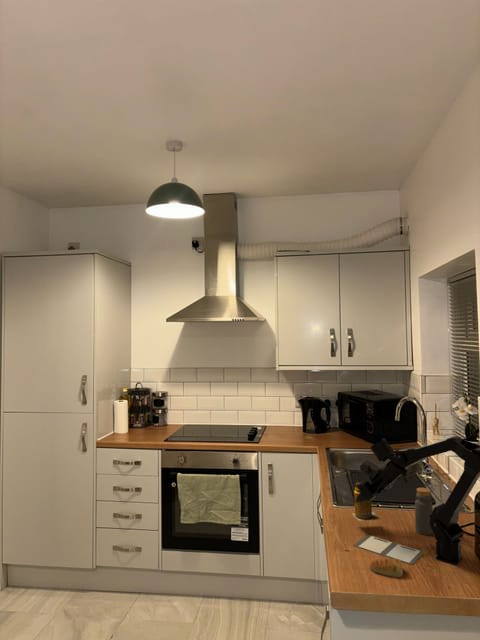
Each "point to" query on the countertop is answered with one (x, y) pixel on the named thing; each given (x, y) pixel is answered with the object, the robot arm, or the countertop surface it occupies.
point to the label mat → (389, 549)
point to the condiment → (363, 508)
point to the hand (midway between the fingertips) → (361, 498)
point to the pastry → (387, 567)
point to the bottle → (423, 511)
